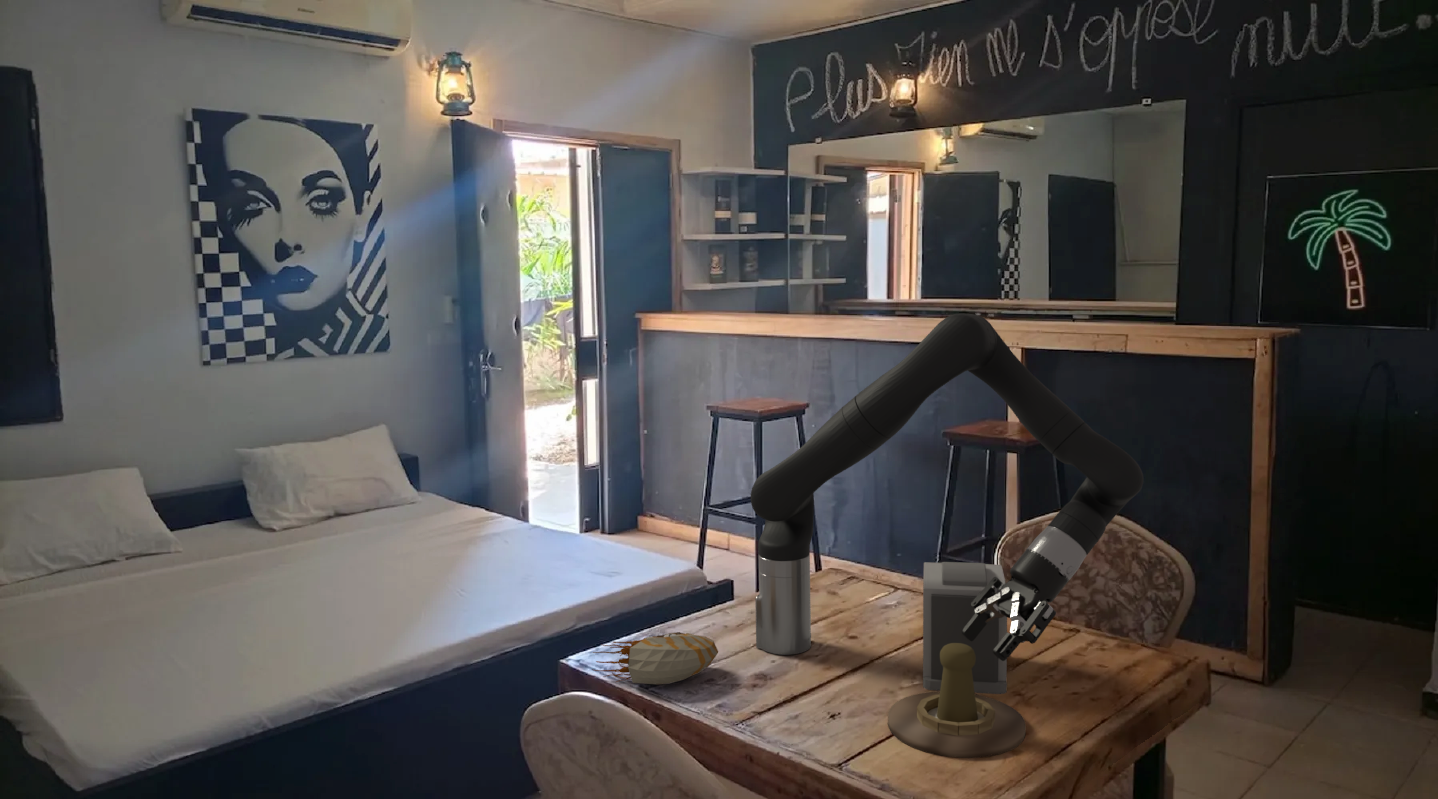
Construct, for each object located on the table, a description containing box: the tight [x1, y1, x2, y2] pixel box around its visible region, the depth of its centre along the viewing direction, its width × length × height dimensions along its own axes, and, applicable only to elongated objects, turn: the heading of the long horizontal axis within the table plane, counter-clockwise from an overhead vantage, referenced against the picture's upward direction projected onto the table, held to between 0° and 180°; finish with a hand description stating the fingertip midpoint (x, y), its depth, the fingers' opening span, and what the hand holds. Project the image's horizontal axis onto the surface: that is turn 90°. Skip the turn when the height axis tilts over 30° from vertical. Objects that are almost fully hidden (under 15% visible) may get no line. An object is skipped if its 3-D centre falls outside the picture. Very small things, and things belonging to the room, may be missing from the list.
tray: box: [887, 690, 1027, 759], centre depth 154 cm, size 20×20×3 cm
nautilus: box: [591, 631, 719, 686], centre depth 175 cm, size 8×22×15 cm
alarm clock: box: [922, 561, 1008, 695], centre depth 174 cm, size 18×13×18 cm
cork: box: [937, 643, 978, 723], centre depth 154 cm, size 6×6×11 cm
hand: (981, 647), depth 154 cm, fingers open, 8 cm apart
